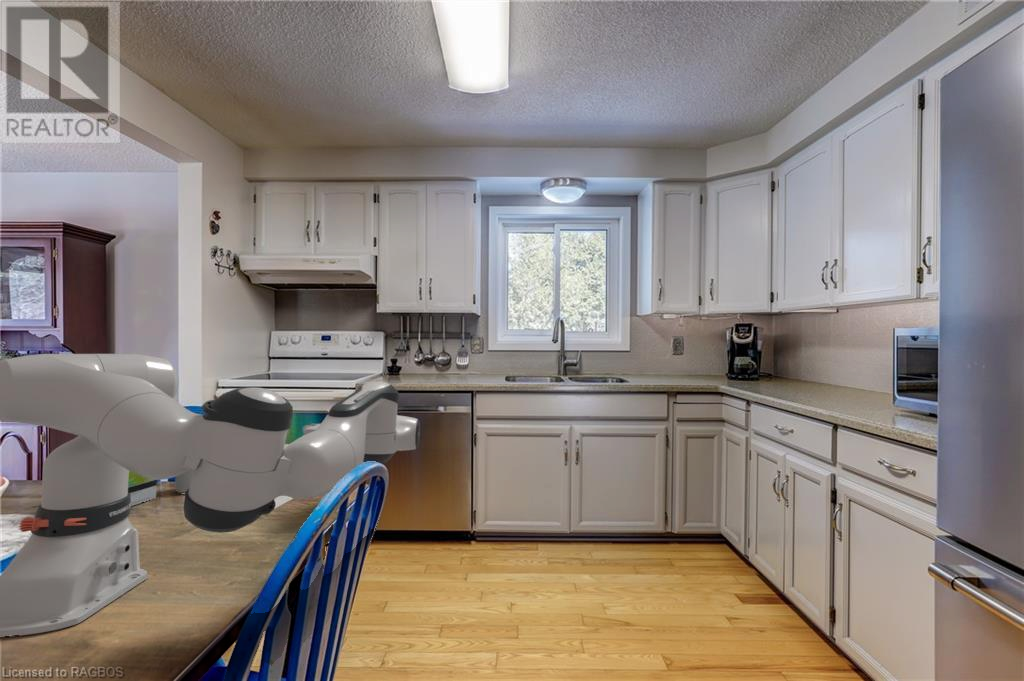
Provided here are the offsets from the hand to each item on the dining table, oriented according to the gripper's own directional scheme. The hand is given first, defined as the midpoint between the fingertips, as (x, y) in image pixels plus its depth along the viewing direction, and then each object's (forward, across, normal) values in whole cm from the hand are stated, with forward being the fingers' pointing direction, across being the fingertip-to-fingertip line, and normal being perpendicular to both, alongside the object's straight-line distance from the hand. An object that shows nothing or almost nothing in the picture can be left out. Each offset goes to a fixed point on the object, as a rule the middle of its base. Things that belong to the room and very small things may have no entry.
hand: (306, 428), depth 123 cm
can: (+37, +6, -20) cm, 42 cm away
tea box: (+45, -9, -20) cm, 50 cm away
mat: (+16, 0, -20) cm, 26 cm away
